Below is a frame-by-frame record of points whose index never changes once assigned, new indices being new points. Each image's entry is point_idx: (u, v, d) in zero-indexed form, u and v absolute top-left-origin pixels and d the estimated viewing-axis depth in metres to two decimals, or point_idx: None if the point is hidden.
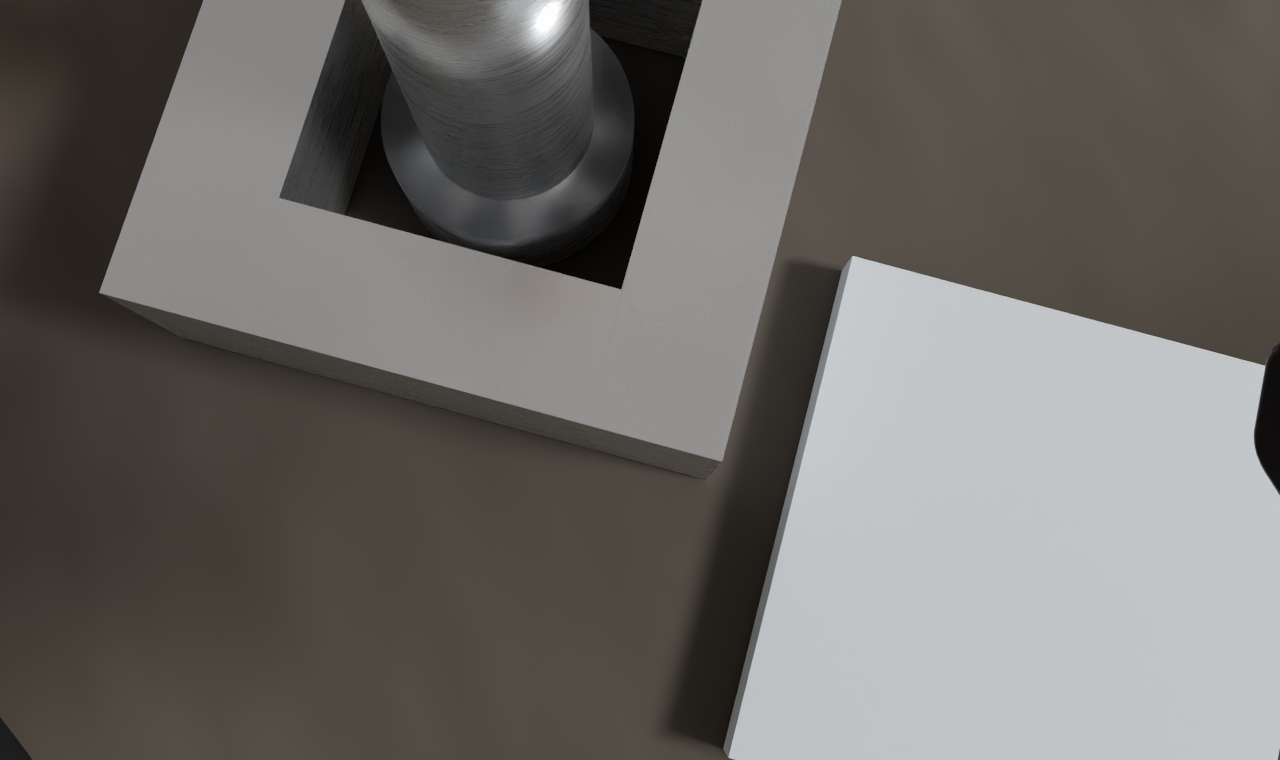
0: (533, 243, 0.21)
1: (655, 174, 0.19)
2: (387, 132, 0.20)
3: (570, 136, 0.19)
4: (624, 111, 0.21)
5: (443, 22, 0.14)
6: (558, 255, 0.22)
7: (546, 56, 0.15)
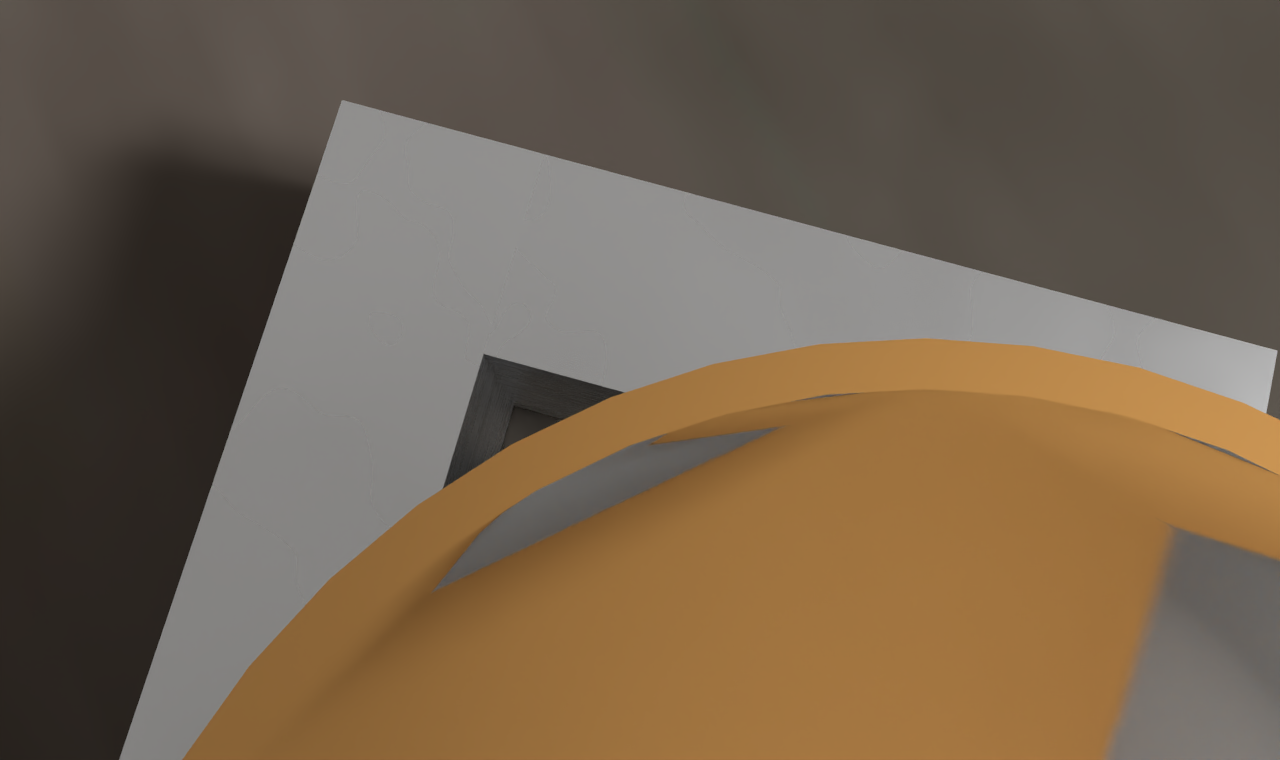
0: None
1: None
2: None
3: None
4: None
5: None
6: None
7: None
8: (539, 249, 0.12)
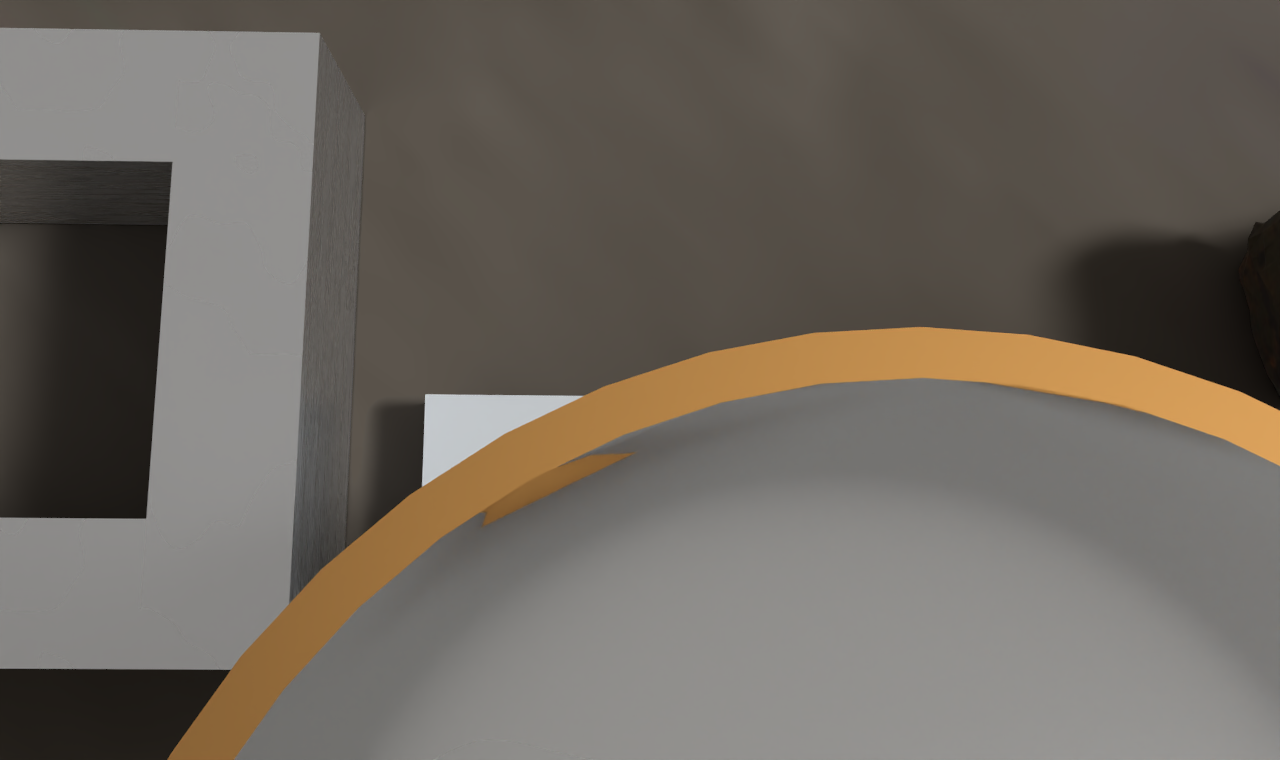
0: None
1: (157, 389, 0.18)
2: None
3: None
4: None
5: None
6: None
7: None
8: None
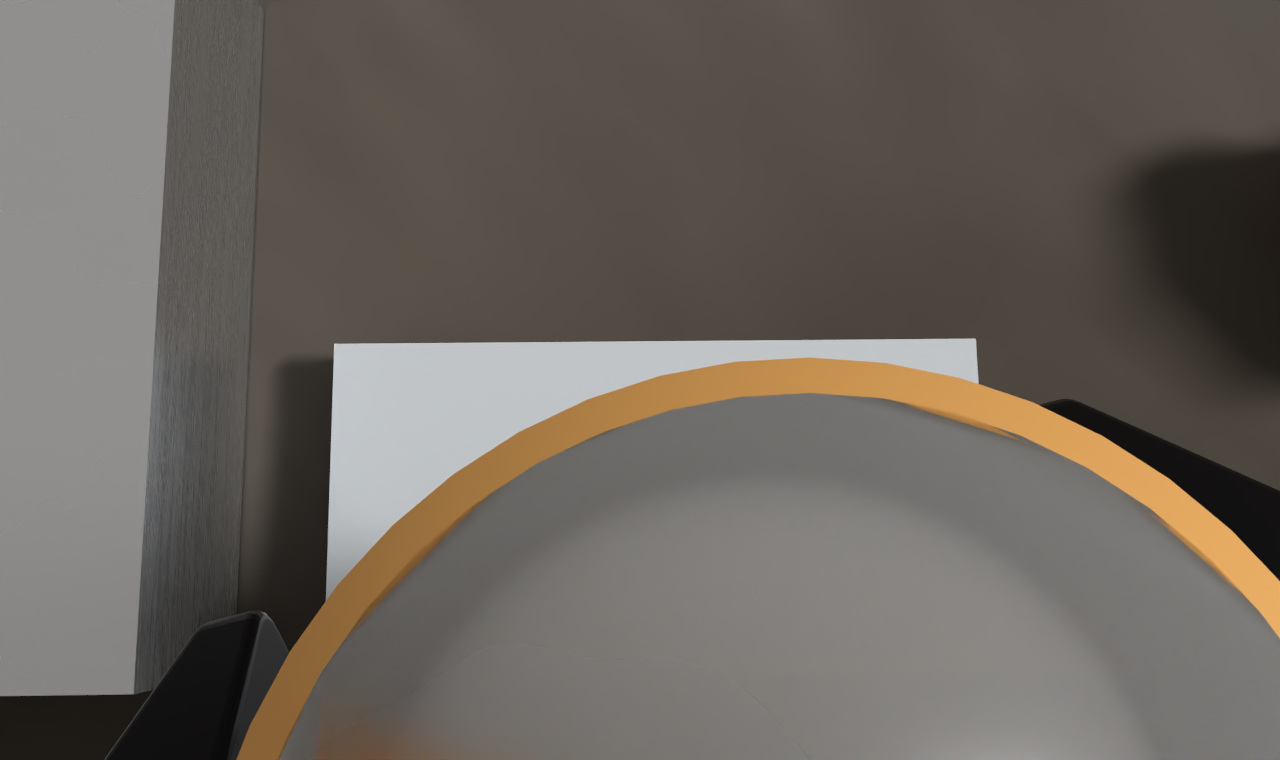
0: None
1: None
2: None
3: None
4: None
5: None
6: None
7: None
8: None
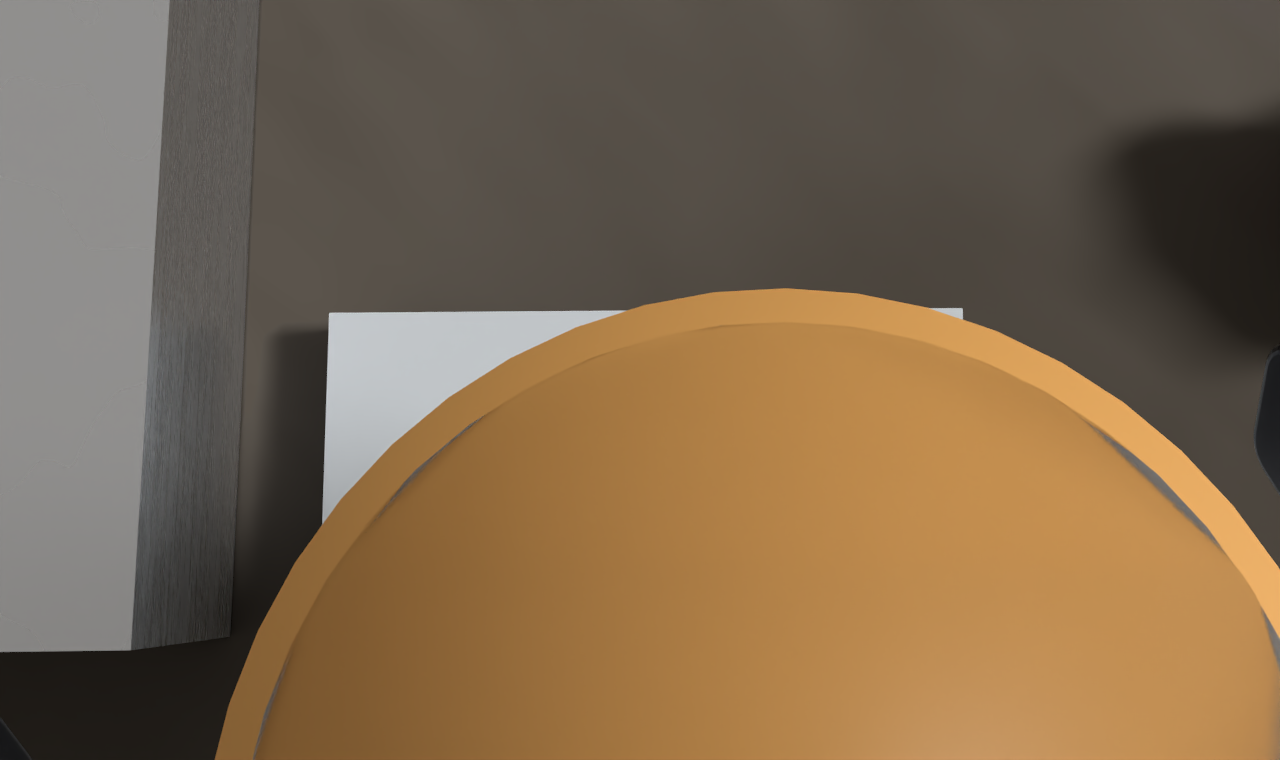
0: None
1: None
2: None
3: None
4: None
5: None
6: None
7: None
8: None
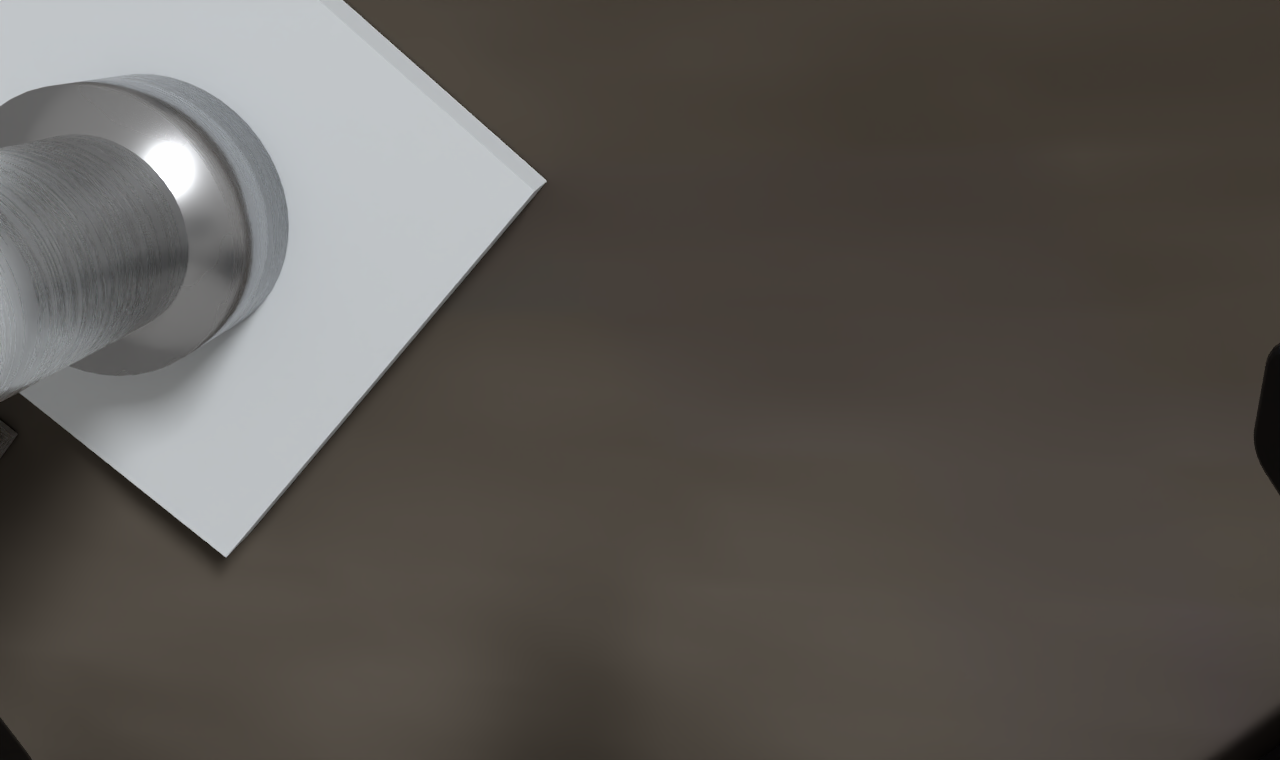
0: (232, 305, 0.18)
1: None
2: None
3: (127, 246, 0.16)
4: (158, 128, 0.17)
5: None
6: (274, 265, 0.19)
7: None
8: None
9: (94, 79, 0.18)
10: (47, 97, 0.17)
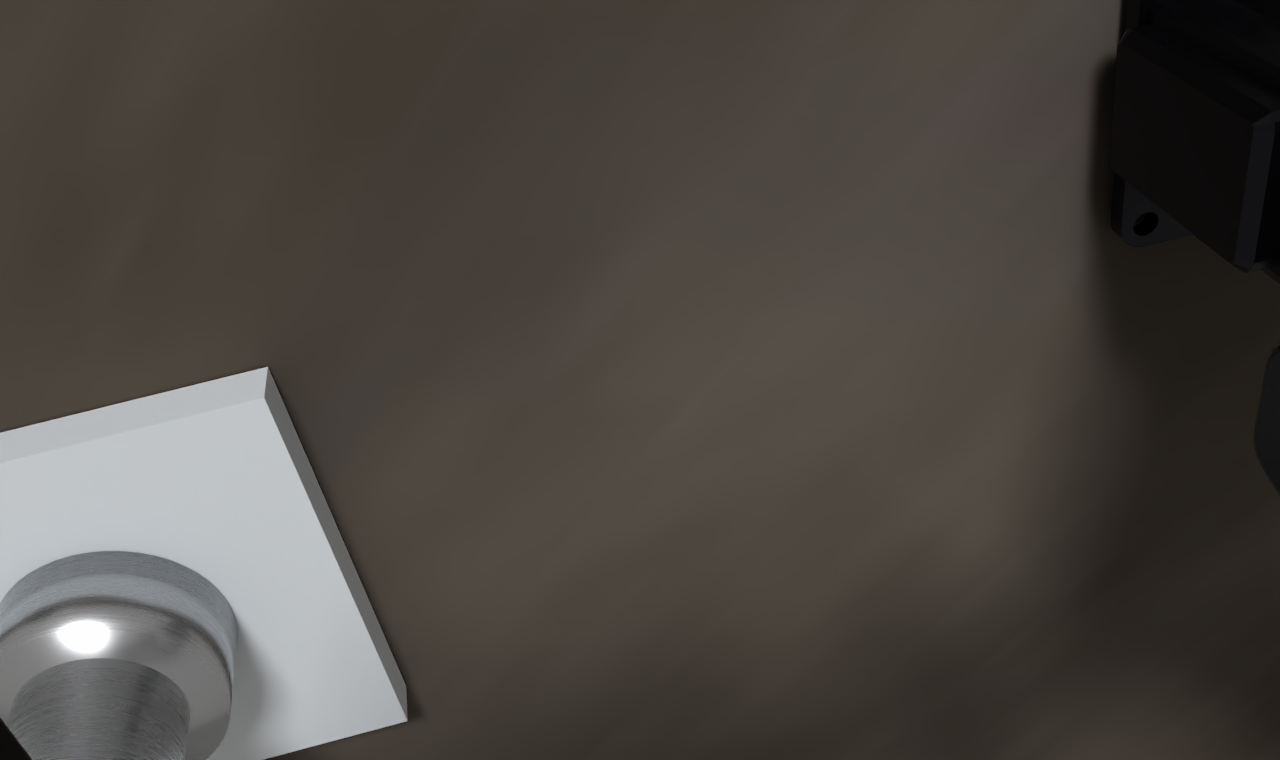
0: (213, 656, 0.22)
1: None
2: None
3: (115, 733, 0.20)
4: (46, 643, 0.20)
5: None
6: (206, 596, 0.22)
7: None
8: None
9: None
10: None
